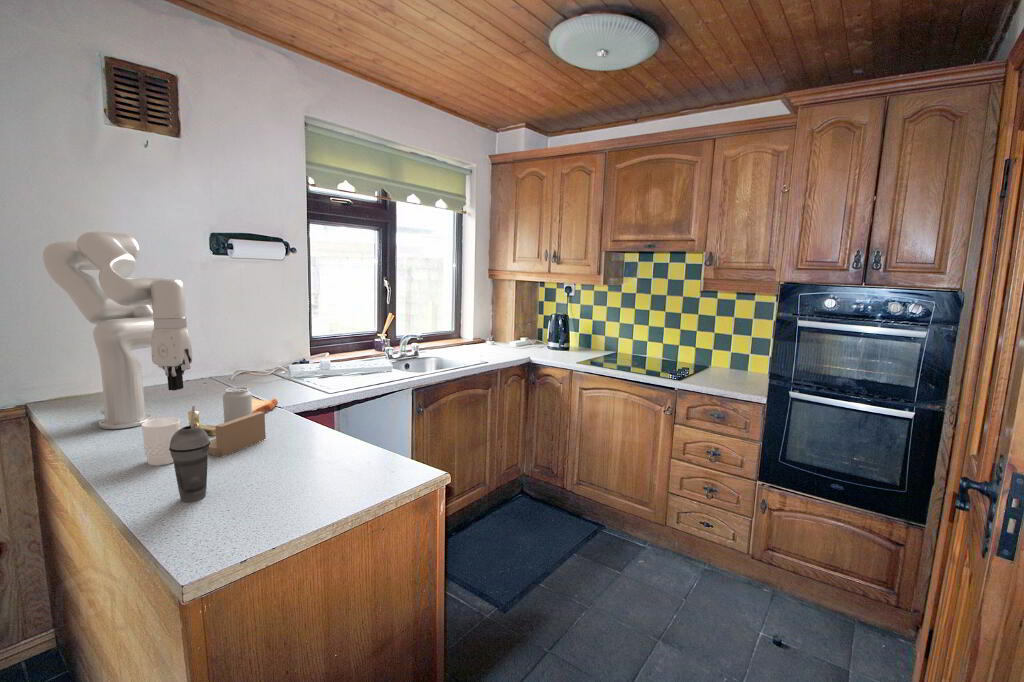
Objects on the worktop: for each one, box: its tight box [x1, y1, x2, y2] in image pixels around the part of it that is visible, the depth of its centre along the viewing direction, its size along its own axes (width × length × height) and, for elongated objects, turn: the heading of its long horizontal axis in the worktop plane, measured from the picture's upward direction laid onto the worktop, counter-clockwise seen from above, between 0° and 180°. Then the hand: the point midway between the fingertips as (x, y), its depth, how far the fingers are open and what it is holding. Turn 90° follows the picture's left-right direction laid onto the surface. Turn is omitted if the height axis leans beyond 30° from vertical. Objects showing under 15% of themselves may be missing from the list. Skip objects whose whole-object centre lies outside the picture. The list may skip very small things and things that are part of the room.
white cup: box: [140, 416, 182, 466], centre depth 123 cm, size 8×8×10 cm
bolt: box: [187, 409, 216, 436], centre depth 137 cm, size 9×2×6 cm, turn 72°
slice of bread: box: [252, 397, 279, 414], centre depth 165 cm, size 18×18×4 cm
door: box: [181, 411, 267, 457], centre depth 137 cm, size 26×14×8 cm, turn 72°
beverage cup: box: [169, 405, 210, 503], centre depth 104 cm, size 7×7×20 cm
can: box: [222, 386, 253, 423], centre depth 148 cm, size 8×8×12 cm
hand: (176, 389), depth 139 cm, fingers closed
